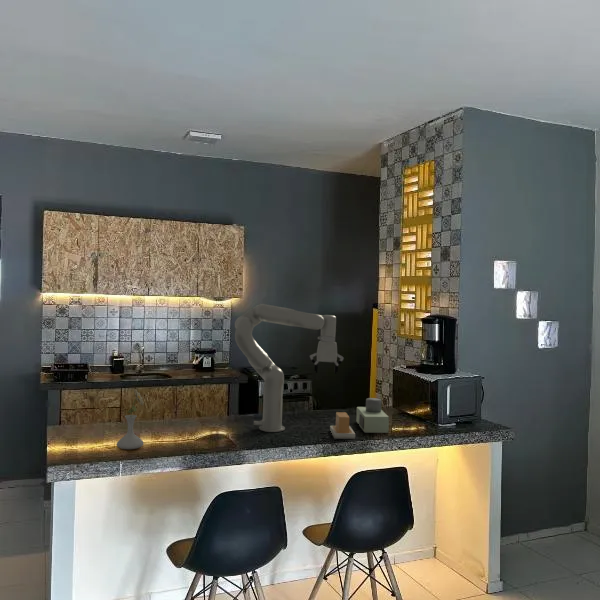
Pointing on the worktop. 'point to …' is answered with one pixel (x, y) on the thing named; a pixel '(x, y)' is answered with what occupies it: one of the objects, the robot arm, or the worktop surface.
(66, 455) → the worktop surface
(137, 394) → the flower in vase
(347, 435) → the frame
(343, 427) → the chute block
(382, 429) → the block with top knob
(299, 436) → the worktop surface
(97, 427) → the worktop surface
